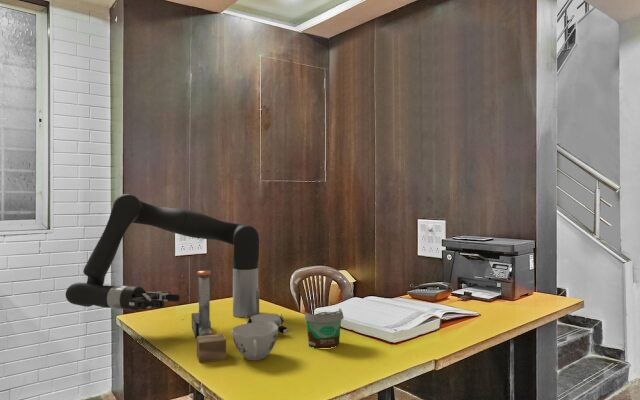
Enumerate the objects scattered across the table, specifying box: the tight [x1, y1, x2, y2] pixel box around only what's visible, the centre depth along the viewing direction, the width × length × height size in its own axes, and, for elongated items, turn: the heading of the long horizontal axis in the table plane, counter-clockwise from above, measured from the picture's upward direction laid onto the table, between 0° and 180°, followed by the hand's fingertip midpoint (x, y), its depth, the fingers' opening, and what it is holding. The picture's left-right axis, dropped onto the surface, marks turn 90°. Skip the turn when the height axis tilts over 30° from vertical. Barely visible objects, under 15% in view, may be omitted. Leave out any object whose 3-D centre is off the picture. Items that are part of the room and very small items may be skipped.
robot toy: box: [245, 313, 290, 334], centre depth 148 cm, size 12×4×15 cm
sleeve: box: [191, 312, 212, 339], centre depth 149 cm, size 13×5×5 cm, turn 21°
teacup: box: [231, 322, 279, 361], centre depth 124 cm, size 15×12×8 cm
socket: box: [196, 333, 227, 364], centre depth 125 cm, size 6×7×5 cm
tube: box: [196, 269, 213, 336], centre depth 144 cm, size 22×4×20 cm, turn 21°
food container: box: [303, 308, 344, 349], centre depth 134 cm, size 12×6×10 cm, turn 117°
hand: (171, 301), depth 142 cm, fingers open, 8 cm apart
